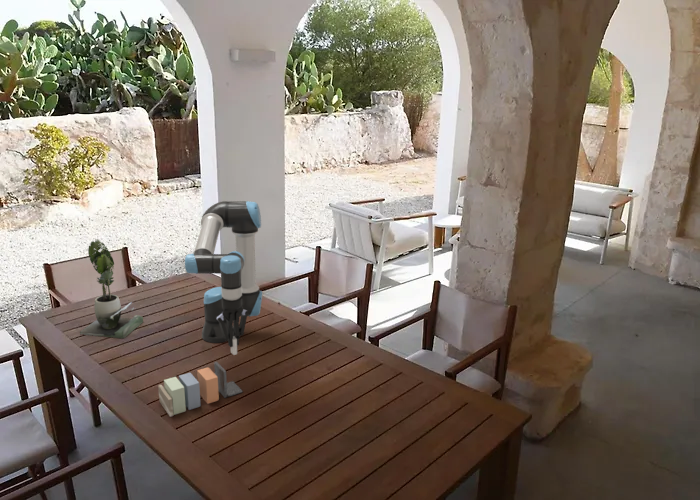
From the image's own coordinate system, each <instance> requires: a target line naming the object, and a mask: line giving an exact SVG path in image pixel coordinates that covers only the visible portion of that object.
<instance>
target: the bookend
mask: <svg viewBox="0 0 700 500" xmlns="http://www.w3.org/2000/svg"><path fill="white" fill-rule="evenodd" d="M213 365H214V374H215V375H216V376H217V377H218V393H219V394H221V395H222V396H223V398H225V399H226V398H229V397H232V396H235V395H238V394H241V393H243V392H244V391H243V390H242V388H241V387H239V385H238V384H236V383H235V381H233V380H232V381H229V382H228V381H227V379H228V378H227V370H226V369H225V368H224V367H222V365H221V364H220V363H219V362H218V361H214V362H213Z"/></svg>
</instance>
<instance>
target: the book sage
mask: <svg viewBox="0 0 700 500" xmlns="http://www.w3.org/2000/svg"><path fill="white" fill-rule="evenodd" d="M163 387H164V389H165V390H166V391H167V393H168V394H169V395H170V397H171V398H172V404H173V416H174V415H178V414H181V413H184V412H186V411H187V407H186V405H185V391H184V386H183V385H182V384H181V383H180V381H179V378H177V376H173V377H169V378H167V379H163Z"/></svg>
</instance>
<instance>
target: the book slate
mask: <svg viewBox="0 0 700 500" xmlns="http://www.w3.org/2000/svg"><path fill="white" fill-rule="evenodd" d="M178 380H179V381H180V383H181V384H182V385H183V386H184V391H185V406H186V409H188V410H189V411H190V410H193V409H196V408H199V407H201V405H202V404H201V395H200V387H199V382H198V379H197V378H195V376H194V375H193V373H191V372H188V373H184V374H180V375H178Z"/></svg>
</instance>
